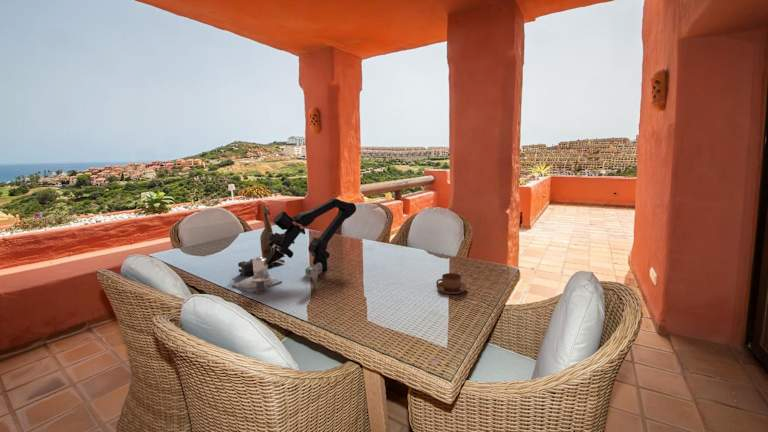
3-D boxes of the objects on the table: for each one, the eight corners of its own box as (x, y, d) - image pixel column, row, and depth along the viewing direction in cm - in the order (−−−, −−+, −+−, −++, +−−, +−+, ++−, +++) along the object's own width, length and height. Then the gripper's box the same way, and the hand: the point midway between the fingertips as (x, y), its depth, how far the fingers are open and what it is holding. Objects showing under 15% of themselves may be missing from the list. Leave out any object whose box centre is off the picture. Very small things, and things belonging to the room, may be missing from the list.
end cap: (245, 278, 161) (244, 264, 160) (238, 275, 165) (236, 261, 164) (265, 272, 168) (264, 259, 167) (257, 270, 173) (256, 256, 172)
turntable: (262, 276, 162) (262, 273, 162) (281, 282, 153) (281, 279, 153) (231, 286, 151) (231, 282, 151) (250, 293, 142) (250, 289, 141)
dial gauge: (267, 292, 142) (266, 279, 141) (257, 294, 140) (256, 281, 139) (264, 289, 145) (262, 276, 144) (254, 292, 143) (253, 278, 142)
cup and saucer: (448, 298, 131) (448, 283, 130) (430, 289, 142) (430, 274, 141) (473, 292, 137) (473, 277, 136) (453, 283, 147) (453, 269, 146)
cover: (273, 276, 157) (271, 255, 155) (267, 282, 149) (265, 260, 147) (255, 277, 157) (253, 255, 155) (249, 283, 149) (247, 260, 147)
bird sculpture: (268, 269, 173) (263, 206, 168) (253, 266, 179) (247, 205, 174) (285, 263, 182) (280, 203, 177) (270, 260, 188) (265, 202, 183)
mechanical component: (324, 284, 149) (323, 262, 148) (311, 293, 140) (310, 269, 138) (318, 284, 150) (316, 261, 149) (305, 292, 141) (304, 269, 139)
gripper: (269, 222, 162) (247, 249, 157) (284, 228, 147) (260, 258, 142) (286, 236, 168) (265, 263, 163) (302, 243, 153) (280, 272, 148)
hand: (267, 263), depth 154 cm, fingers closed, pressing on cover
